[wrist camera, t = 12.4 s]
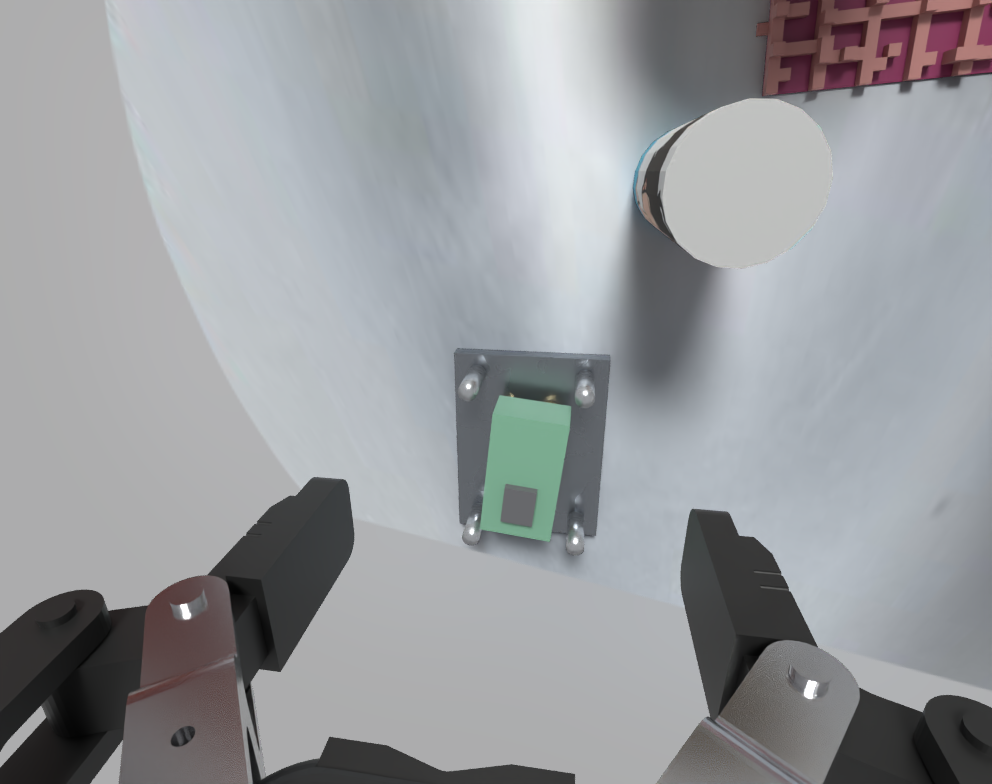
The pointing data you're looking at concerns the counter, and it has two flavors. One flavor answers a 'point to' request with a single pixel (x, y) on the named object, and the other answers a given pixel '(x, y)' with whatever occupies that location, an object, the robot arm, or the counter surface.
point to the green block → (524, 467)
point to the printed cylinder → (737, 182)
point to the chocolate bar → (873, 42)
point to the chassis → (537, 380)
